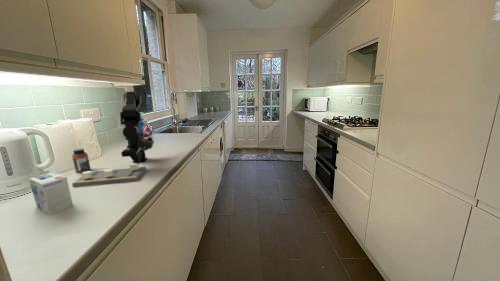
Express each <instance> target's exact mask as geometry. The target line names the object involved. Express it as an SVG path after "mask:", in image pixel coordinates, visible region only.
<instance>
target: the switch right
mask: <svg viewBox="0 0 500 281" xmlns="http://www.w3.org/2000/svg"><path fill="white" fill-rule="evenodd" d="M92 171H93V170H88V171H86V172H81V177H83V179H88V178H92V177H93V174H92Z"/></svg>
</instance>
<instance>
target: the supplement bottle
mask: <svg viewBox="0 0 500 281" xmlns="http://www.w3.org/2000/svg"><path fill="white" fill-rule="evenodd" d="M71 157H72V162H73V165H74V170H75V172H76V173H81V174H82V173H83V172H86V171H91V166H90V160H89V156H88V153H87V152H85V149H84V148H75V149H73V154H72V155H71Z"/></svg>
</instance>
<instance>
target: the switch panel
mask: <svg viewBox="0 0 500 281" xmlns="http://www.w3.org/2000/svg"><path fill="white" fill-rule="evenodd" d="M138 167H139V168H138V170H130V167H126V168H125V167H122V168H112V169H113V172H114V175H113V176H111V177H104V171H105V170H106V169H100V170H99V169H98V170H91V171H92V174H93V177H92V178H88V179H83V177H82V176H81V177H79V178H78V179H76V180H75V181H73V182H72V184H71V185H72V187H73V188H74V187H76V188H77V187H87V186H94V185H95V186H96V185H107V184H116V183H117V184H118V183H129V182H130V183H131V182H137V181H138V180H140V178H141V177H142V176H143V175H144V173H145V172H146V171H147V167H146V166H138Z"/></svg>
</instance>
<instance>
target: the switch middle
mask: <svg viewBox="0 0 500 281" xmlns="http://www.w3.org/2000/svg"><path fill="white" fill-rule="evenodd" d="M113 169H114V168H111V169H104V170H105V171H104V177H111V176H113V175H114V172H113Z"/></svg>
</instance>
